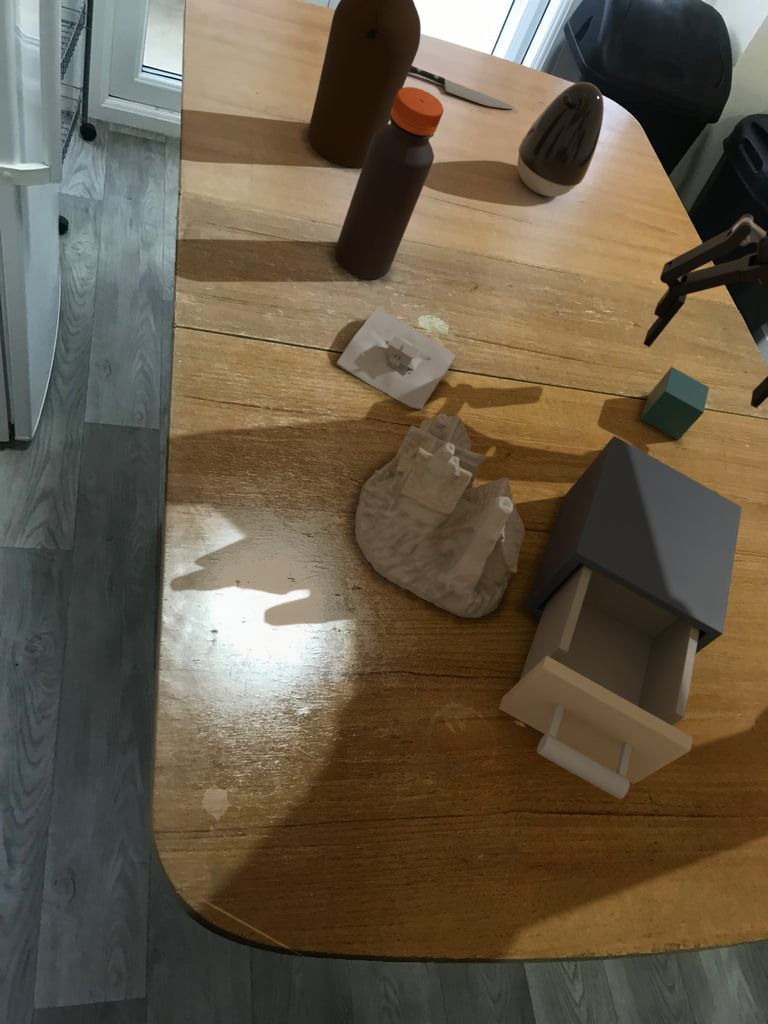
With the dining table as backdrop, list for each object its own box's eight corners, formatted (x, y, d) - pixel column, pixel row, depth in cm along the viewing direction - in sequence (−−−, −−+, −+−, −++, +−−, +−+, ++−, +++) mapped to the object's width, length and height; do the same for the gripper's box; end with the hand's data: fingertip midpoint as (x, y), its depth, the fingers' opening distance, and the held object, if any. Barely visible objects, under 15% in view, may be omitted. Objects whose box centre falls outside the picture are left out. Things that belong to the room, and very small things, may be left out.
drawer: (623, 833, 65) (682, 803, 59) (482, 754, 65) (526, 716, 59) (662, 646, 78) (714, 605, 72) (543, 580, 78) (585, 533, 72)
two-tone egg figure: (493, 169, 121) (541, 66, 109) (536, 158, 127) (586, 59, 115) (542, 213, 118) (597, 113, 106) (583, 200, 124) (640, 103, 112)
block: (684, 415, 101) (709, 387, 97) (677, 440, 98) (703, 412, 94) (647, 395, 101) (671, 366, 97) (640, 419, 98) (664, 390, 94)
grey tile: (331, 378, 85) (341, 352, 83) (352, 311, 93) (363, 285, 90) (440, 419, 87) (454, 394, 84) (453, 350, 94) (466, 325, 91)
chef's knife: (515, 119, 132) (515, 108, 134) (518, 113, 131) (518, 102, 133) (401, 78, 128) (402, 67, 129) (403, 71, 127) (404, 60, 128)
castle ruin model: (479, 641, 72) (559, 535, 62) (320, 539, 74) (371, 419, 63) (536, 534, 83) (613, 428, 72) (396, 447, 85) (451, 332, 74)
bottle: (345, 234, 100) (400, 72, 85) (396, 259, 101) (460, 103, 85) (325, 262, 96) (379, 97, 81) (378, 289, 96) (442, 130, 81)
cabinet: (656, 683, 76) (723, 634, 69) (523, 609, 76) (576, 551, 69) (681, 561, 86) (742, 506, 79) (564, 495, 86) (614, 435, 79)
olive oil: (389, 174, 111) (462, -25, 92) (314, 167, 106) (374, -44, 87) (365, 126, 116) (429, -72, 97) (293, 118, 112) (345, -92, 92)
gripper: (719, 159, 75) (597, 331, 91) (962, 298, 75) (796, 445, 91) (729, 128, 79) (610, 297, 96) (957, 258, 80) (800, 405, 96)
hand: (701, 369), depth 93 cm, fingers open, 13 cm apart
